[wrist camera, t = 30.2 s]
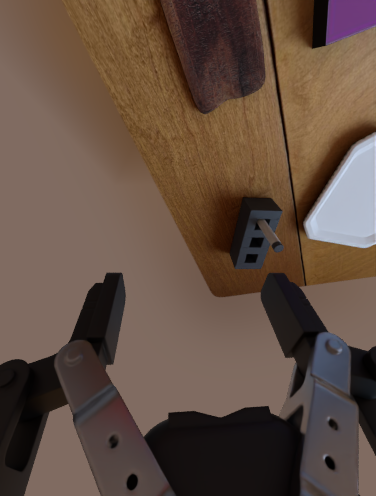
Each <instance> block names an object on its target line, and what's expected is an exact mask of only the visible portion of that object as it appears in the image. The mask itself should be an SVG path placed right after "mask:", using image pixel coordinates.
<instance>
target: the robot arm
mask: <svg viewBox="0 0 376 496" xmlns="http://www.w3.org/2000/svg"><path fill="white" fill-rule="evenodd" d="M125 297H126V295H125V287H124V281H123V275H122V273H107V274H106V276H105V279H104V282H103V283H95V284H94V286H93V287H92V288H91V289H90V290H89V291H88V294H87V297H86V299H85V302H84V305H83V309H82V310H81V313H80V315H79V318H78V321H77V323H76V326H75V329H74V332H73V334H72V337H71V339H70V341H69V342H68V344H66V345H65V346H64V347H62V348H61V350H60V351H59V352H58V353H56V354H54V355H52V356H50V357H48V358H44V359H41V360H38V361H36V362H33V363H29V364H27V362H25V361H24V360H20V359H15V360H11V361H7V362H5V363H3V364H1V365H0V496H24V494H25V491H26V487H27V484H28V481H29V477H30V474H31V470H32V467H33V464H34V461H35V457H36V454H37V451H38V448H39V444H40V441H41V438H42V434H43V431H44V428H45V425H46V421H47V418H48V415H49V412H50V411H52V410H55V409H57V408H59V407H62V406H64V405H67V404H69V406H70V409H71V412H72V414H73V422H74V426H75V428H76V431H77V434H78V437H79V439H80V442H81V444H82V447H83V450H84V452H85V455H86V458H87V460H88V463H89V465H90V468H91V471H92V473H93V476H94V478H95V481H96V484H97V487H98V489H99V492H100V494H101V496H360V495H359V494H358V429H359V428H358V427H359V426H358V424H360V426H361V428H362V430H363V432H364V434H365V436H366V438H367V440H368V442H369V444H370V445H371V448H372V449H373V451H374V453H375V455H376V346H375V347H372V348H371V349H370V350H369V351H365V350H361V349H358V348H354V347H350V346H347V344H346V343H345V342H344V341H343V340H342V339H341V338H339V337H338V336H336V335H334V334H332V333H329V332H328V331H327V329H326V327H325V326H324V324H323V323H322V321H321V320H320V318H319V316H318V315H317V313H316V312H315V310H314V309H313V307H312V306H311V305H310V302H309V301H308V299H306V296H305V294H304V293H303V291H302V290H301V289H300V288H299V287H298V286H297V285H296V284H295V283H293V282H290V281H289V280H288V278H287V276H286V275H285V274H284V273H269V274H268V276H267V278H266V280H265V283H264V285H263V288H262V290H261V301H262V303H263V306H264V308H265V310H266V313H267V315H268V318H269V320H270V322H271V325H272V327H273V329H274V332H275V334H276V337H277V339H278V341H279V344H280V346H281V348H282V351H283V353H284V355H285V357H286V358H290V357H291V358H292V357H294V358H295V361H296V363H295V365H294V369H293V373H292V377H291V381H290V385H289V390H288V394H287V398H286V401H285V403H284V405H283V407H282V410H281V412H280V414H279V416H276V415H274V414H271V413H270V410H269V407H268V406H264V407H249V408H243V409H241V410H238V411H236V412H234V413H231V414H229V415H227V416H224V417H215V416H211V415H207V414H203V413H200V412H196V411H187V412H173V413H169V415H168V419H167V420H165V421H163V422H161V423H159V424H157V425H156V426H155V427H153V428H152V429H151V430H150V431H149V432H148V433H147V434H146V435H145V436H144V437H143V436H142V434H141V432H140V430H139V428H138V426H137V425H136V423H135V421H134V419H133V417H132V415H131V414H130V412H129V410H128V408H127V407H126V405H125V403H124V401H123V399H122V397H121V396H120V394H119V392H118V390H117V389H116V387H115V386H114V385H113V384H112V382H111V380H110V378H109V376H108V374H107V373H106V371H105V370H106V365H111V364H113V363H114V358H115V352H116V347H117V342H118V337H119V331H120V327H121V321H122V316H123V311H124V305H125Z"/></svg>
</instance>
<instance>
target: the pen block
mask: <svg viewBox="0 0 376 496" xmlns="http://www.w3.org/2000/svg"><path fill="white" fill-rule="evenodd" d="M281 214H282V210H281V209H280V208H279V207H278V205H277V204H276V203H275V202H274V201H273V200H272V199H271V198H245V197H243V199H242V204H241V208H240V212H239V216H238V220H237V224H236V229H235V233H234V237H233V241H232V245H231V249H230V256H231V259H232V262H233V264H234V267H235V269H261V267H262V265H263V262H264V259H265V256H266V254H267V251H268V249H269V246H270V243H269V241H268V240H267V238H266V237H265V235H264V233H263V232H262V230H261V229H260V227H259V225H258V224H257V219H265V221H266V222H267V224H268V225H269V226H270V228H271V229H272V231H273V232H275V230H276V227H277V224H278V222H279V219H280V216H281Z"/></svg>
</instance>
